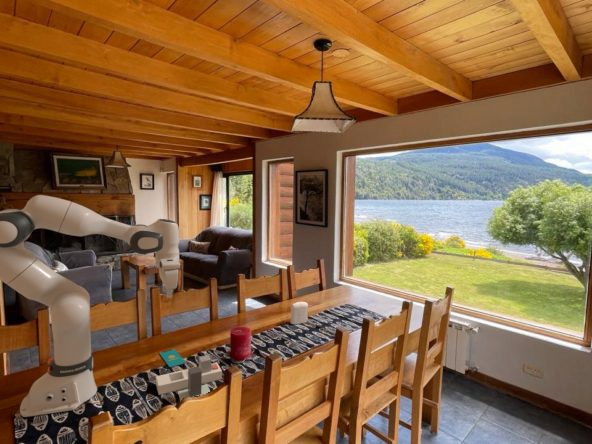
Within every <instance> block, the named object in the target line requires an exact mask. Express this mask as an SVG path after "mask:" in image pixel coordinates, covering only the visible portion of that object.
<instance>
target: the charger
mask: <svg viewBox="0 0 592 444" xmlns="http://www.w3.org/2000/svg"><path fill="white" fill-rule="evenodd" d="M187 369H188V388H187V389H188V392H189V395H190V397H193V396H197V395H200V394H201V385H202V384H201V383H202V371H201V369H200V367H199V365H198V366H195V367H191V368H187Z"/></svg>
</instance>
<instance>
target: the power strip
mask: <svg viewBox="0 0 592 444" xmlns="http://www.w3.org/2000/svg"><path fill="white" fill-rule="evenodd" d="M198 366H199V367H200V369H201V371H202V383H201V385H205V384H207V383H211V382H214V381H218V380H222V379H223V370H222V368H221V367H220V365H219V364H218V362H214V363H212V358H211V356H210V355H209V354H208V355H202V356H199V357H198ZM188 369H189V368H187V369H182V370H179V371H174V372H169V373H166V374H165V373H164V374H161V375H156V376H155V387H156V390H157V393H158V395H159V396H160V395H164V394H167V393H168V394H169V393H172V392H177V391H181V390H185V389H188Z"/></svg>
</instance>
